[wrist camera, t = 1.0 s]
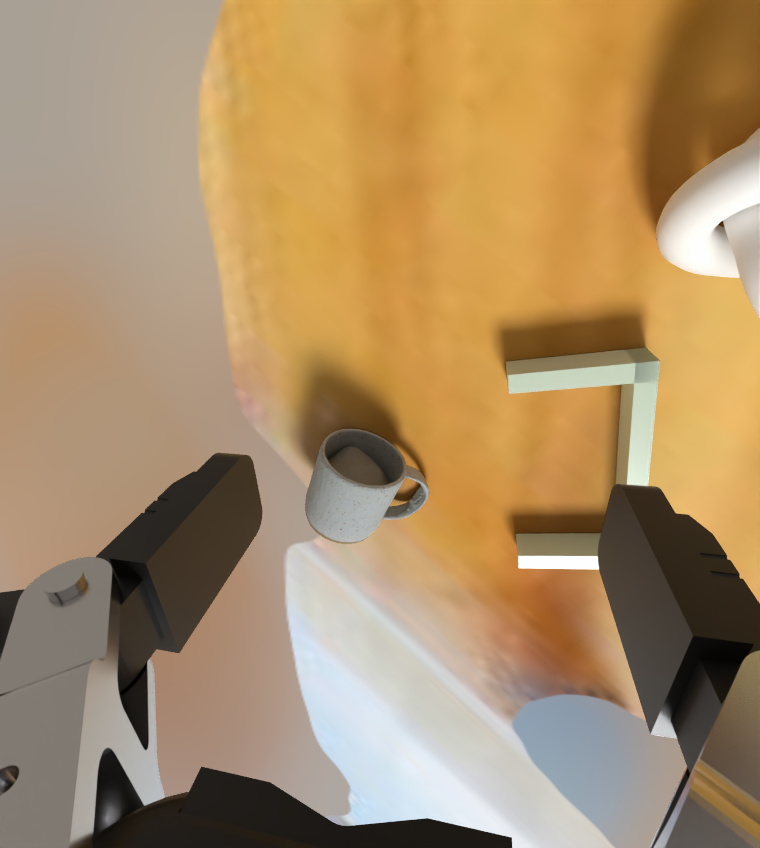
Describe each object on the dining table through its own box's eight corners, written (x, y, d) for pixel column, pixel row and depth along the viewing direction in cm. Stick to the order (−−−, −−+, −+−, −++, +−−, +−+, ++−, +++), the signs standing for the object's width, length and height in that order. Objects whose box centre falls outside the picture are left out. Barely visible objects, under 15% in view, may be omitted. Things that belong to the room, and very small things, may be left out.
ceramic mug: (314, 483, 45) (287, 535, 38) (336, 417, 41) (309, 462, 34) (412, 521, 45) (402, 579, 38) (443, 458, 41) (438, 511, 34)
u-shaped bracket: (516, 545, 43) (518, 568, 41) (505, 361, 35) (507, 375, 33) (629, 545, 41) (639, 569, 38) (645, 347, 33) (660, 360, 30)
